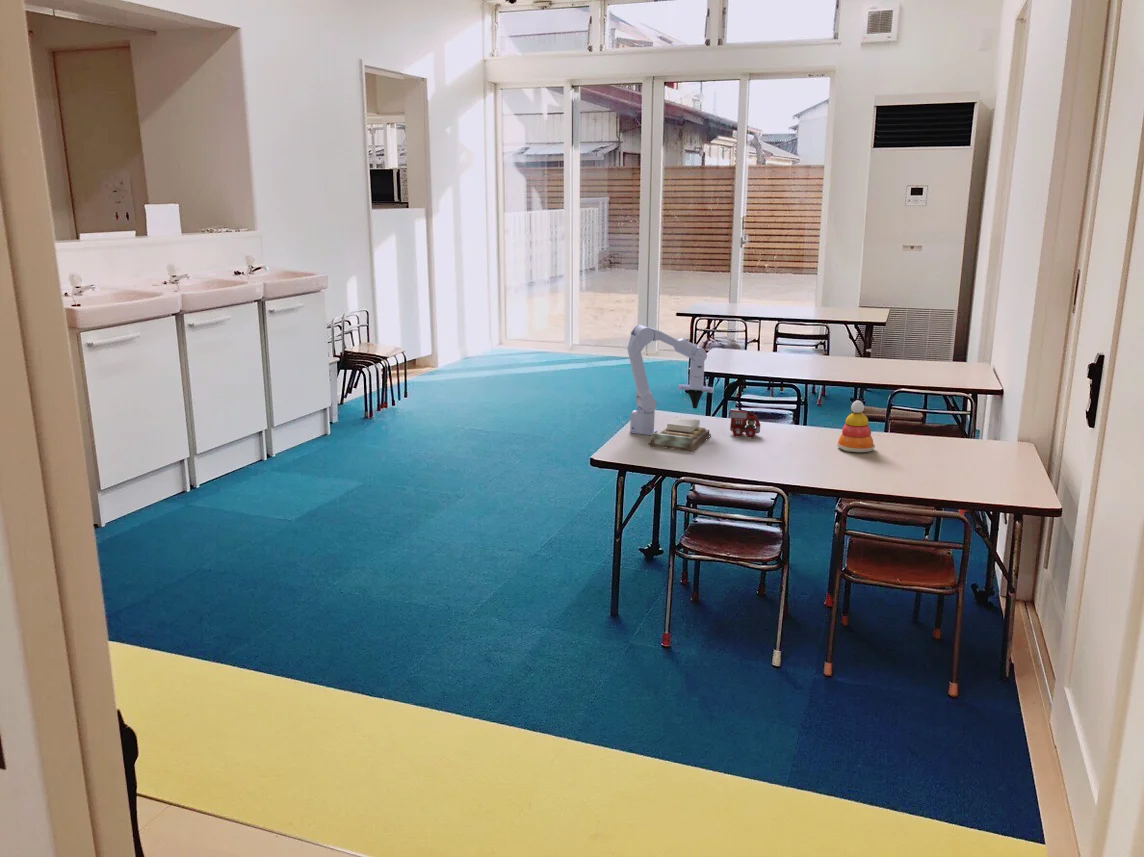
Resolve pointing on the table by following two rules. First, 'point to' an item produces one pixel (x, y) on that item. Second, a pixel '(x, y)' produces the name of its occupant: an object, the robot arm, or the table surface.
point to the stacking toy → (856, 431)
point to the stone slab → (683, 424)
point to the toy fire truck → (744, 423)
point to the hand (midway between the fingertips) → (695, 408)
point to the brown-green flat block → (680, 439)
